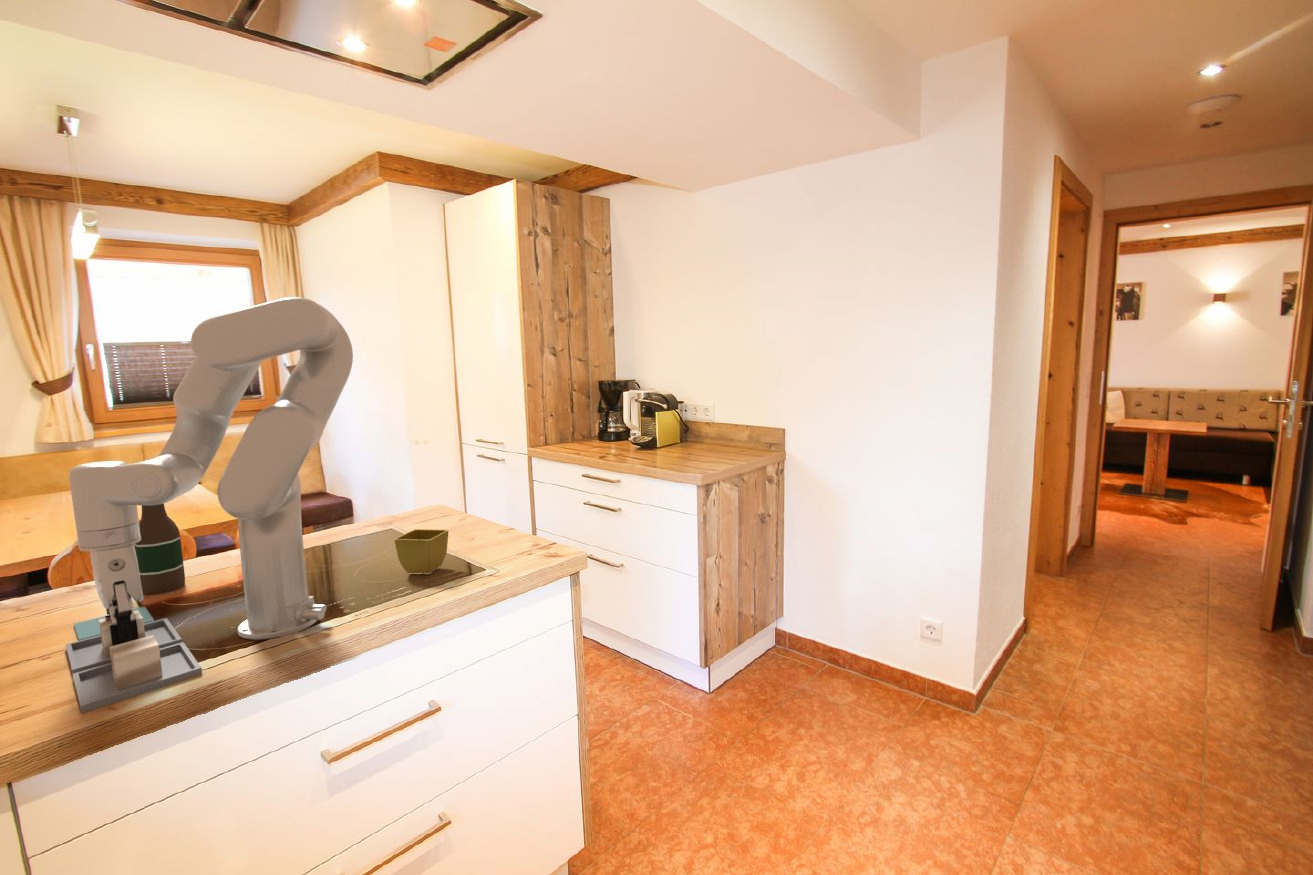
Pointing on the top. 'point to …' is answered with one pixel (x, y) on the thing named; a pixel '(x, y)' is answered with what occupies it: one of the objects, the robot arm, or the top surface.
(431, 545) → the flower pot
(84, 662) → the dish far
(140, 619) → the letter cube
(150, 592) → the beer bottle
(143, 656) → the plain cube
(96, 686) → the dish near
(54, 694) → the top surface
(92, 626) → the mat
